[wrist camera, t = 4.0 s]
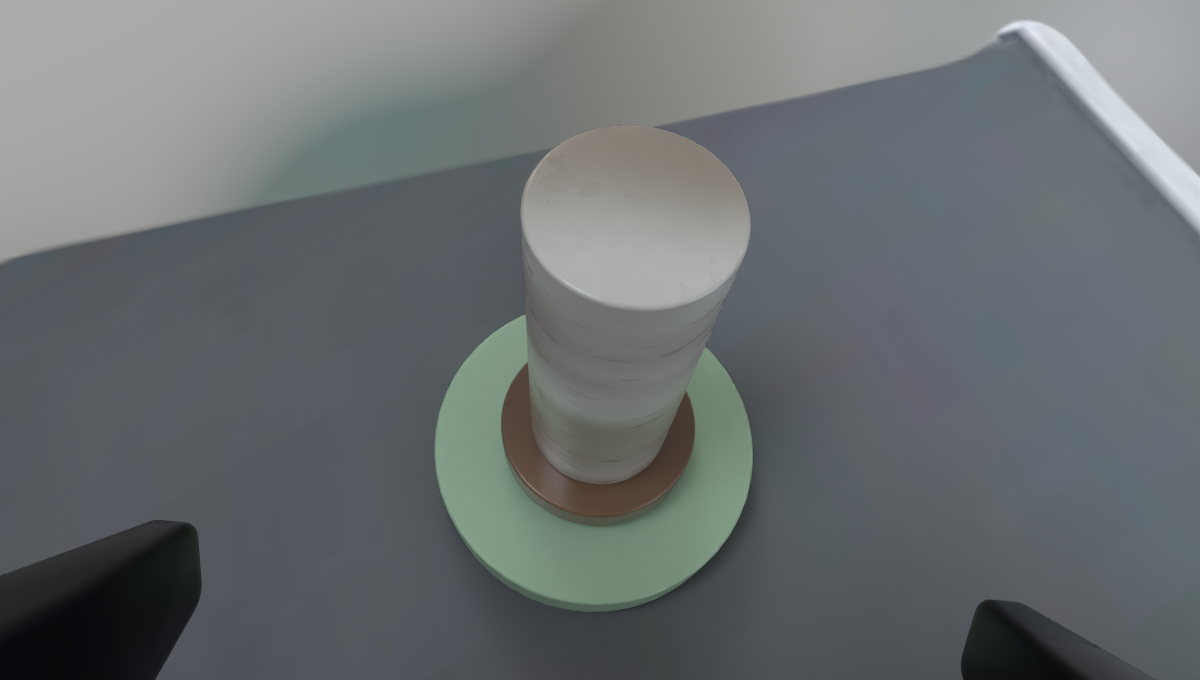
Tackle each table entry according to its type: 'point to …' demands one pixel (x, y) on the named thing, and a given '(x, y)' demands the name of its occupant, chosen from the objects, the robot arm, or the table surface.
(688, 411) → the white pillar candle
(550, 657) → the table surface
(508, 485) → the stand
